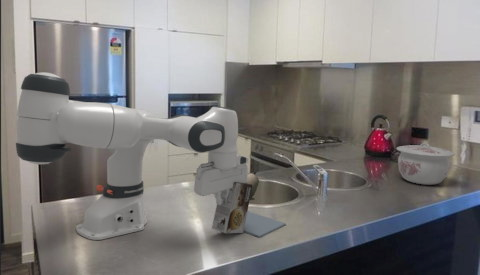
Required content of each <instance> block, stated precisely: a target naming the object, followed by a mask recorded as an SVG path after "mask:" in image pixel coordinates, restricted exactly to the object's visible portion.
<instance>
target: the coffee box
mask: <svg viewBox="0 0 480 275" xmlns="http://www.w3.org/2000/svg"><path fill="white" fill-rule="evenodd" d="M252 186H253V185H252V184H248V183H239V182H234V184H233V188H231V189H230V192H229V195H228V197H227V203H224V204H221V205H218V204H216V207H215V212H214V216H213V221H212V225H211V229H213V230H215V231H218V232H221V233H224V234H241V233H242V234H243V233H244V232H243V231H244V226H245V221H246V216H247V211H249V205H250V201H251V200H250V196H251V191H252ZM222 193H223V191H222ZM220 196H222V194H220Z"/></svg>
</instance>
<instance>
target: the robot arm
mask: <svg viewBox="0 0 480 275" xmlns="http://www.w3.org/2000/svg"><path fill="white" fill-rule="evenodd" d="M70 88H71V87H70V85H69V83H68V82H67V80H66V79H64V78H62V77H60V76H58V75H57V74H55V73H51V72H44V71H43V72H42V71H41V72H36V73H30V74H28V75H26V76H24V79H23V80H22V83H21V87H20V90H21V93H20V96H19V99H18V105H17V112H16V116H17V120H16V140H17V142H15V149H16V155H17V156H18V157H19V159H21V160H23V161H25V162H28V163H30V164H35V165H49V164H51V163H56V162H58V161H59V160H61V159H62V158H63V157H64V156H65V155H66V153H67V152H71V151H72V150H73V148H72V147H70V146H69V147H68V146H66V145H67V144H68V143H69V144H73V145H78V146H82V147H88V148H96V149H105V150H106V149H108V150H115V151H114V153H112V154H111V155H110V156H109V157H108V158H107V161H106V169H107V170H106V172H107V174H106V175H107V176H106V177H107V178H106V179H107V182H106V184H105V185H101V184H97V185H96V187H95V189H96V191H97V192H100V193H102V195H100V197H99V198H97V200H95V202H93V203H92V204H91V205H90V206H89V207H88V208H87V209H86V210H85V213H84V217H83V222H81V223H79V224H77V225H76V229H75V230H76V233H77V234H78V235H80V236H82V237H84V238H86V239H89V240H93V241H101V240H105V239H109V238H114V237H119V236H122V235H127V234H132V233H136V232H139V231H143V230H144V229H145V226H146V224H147V223H148V218H147V215H146V210H145V205H144V197H143V195H144V181H143V159H144V155H145V152H146V150H147V147H148V146H149V144H150V143H152V142H153V141H154V140H162V141H167V142H168V143H170V144H171V145H172V146H175V147H179V148H183V149H186V150H189V151H191V152H194V153H198V154H199V153H207V160H208V161H207V162H205V163H201V164H200V165H198V167H197V168H196V174H195V177H194V178H195V179H194V186H193V191H194V193H195V195H197V196H201V197H205V196H209V195H212V194H213V195H214V197H215V200H216V201H215V204H216V205H217V204H218V205H221V204H224V203H227V197H228V195H229V192H230V189H231V188H233V184H234V182H239V183H246V182H247V176H248V173H249V172H248V170H249V169H248V165H247V164H248V161H249V157H248V156H245V155H241V154H239V153H238V145H237V143H238V142H237V141H238V137H239V120H238V119H239V118H238V114H237V112H236V110H234V109H232V108H230V107H225V106H218V105H214V106H212V107H210V109H209V110H208V111H207V112H205V113H204V114H201V115H199V116H197V117H194V116H190V115H187V114H176V115H173V116H171V117H166V118H162V117H161V118H160V117H157V116H155V114H153V113H151V112H150V111H146V110H144V109H139V108H132V107H126V106H123V105H119V104H112V103H106V102H105V103H104V102H92V101H90V102H89V101H87V102H86V101H80V100H73V99H69V96H71V89H70ZM222 191H223V193H222ZM220 194H222V196H220Z"/></svg>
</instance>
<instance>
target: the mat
mask: <svg viewBox="0 0 480 275" xmlns="http://www.w3.org/2000/svg"><path fill="white" fill-rule="evenodd" d="M284 226H287V223H285V222H283V221H280V220H277V219H272V218H270V217H266V216H263V215H260V214H258V213H254V212H251V211H249V210H248V211H247V216H246V221H245V226H244V231H243V233H244V234H245V233H246V234H248V235H250V236H251V235H252V237H257V238H259V239H260V238H262V237H264V236H267V235H269V234H270V233H272V232H275V231H277V230H279V229H281V228H283V227H284Z"/></svg>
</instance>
